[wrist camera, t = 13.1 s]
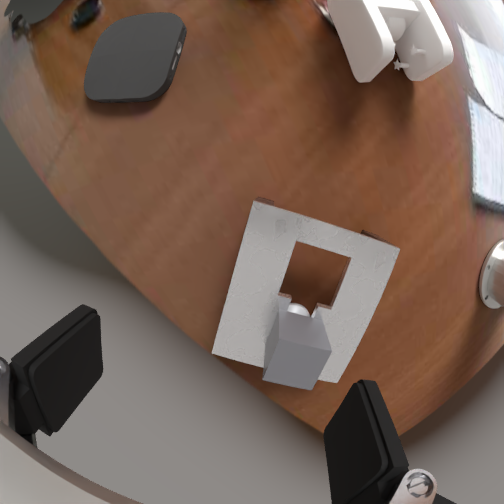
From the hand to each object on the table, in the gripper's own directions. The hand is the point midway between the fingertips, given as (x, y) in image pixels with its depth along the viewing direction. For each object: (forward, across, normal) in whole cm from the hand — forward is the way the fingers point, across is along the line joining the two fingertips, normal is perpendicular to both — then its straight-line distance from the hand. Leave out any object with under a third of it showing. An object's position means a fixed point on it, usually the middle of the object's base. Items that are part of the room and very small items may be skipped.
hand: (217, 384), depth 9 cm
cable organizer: (+28, -9, -31) cm, 43 cm away
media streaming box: (+28, +24, -21) cm, 42 cm away
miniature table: (+27, -6, +5) cm, 29 cm away
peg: (+23, -6, +8) cm, 25 cm away
